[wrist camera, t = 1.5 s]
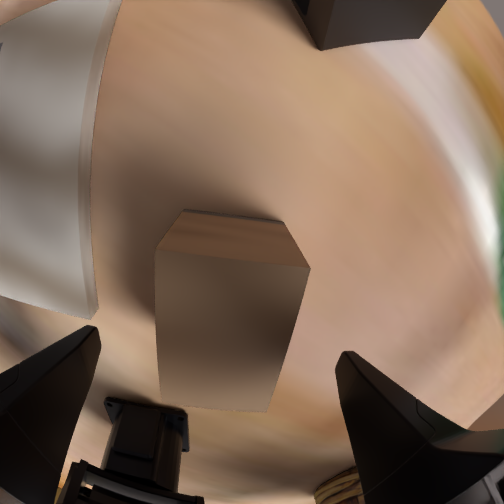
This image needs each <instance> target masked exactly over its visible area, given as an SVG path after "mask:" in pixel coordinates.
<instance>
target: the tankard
mask: <svg viewBox="0 0 504 504" xmlns="http://www.w3.org/2000/svg"><path fill="white" fill-rule="evenodd" d="M363 496H364V495H363V492H362V487H361V483H360V479H359V474H358V470H357V467H356V468H353V469H351V470H348V471H345V472H343V473H341V474H339V475H338V476H336V477H334V478H332V479H330V480H329V481H327V482H326V483H324V484H323V485H321V486H320V487H319V488H318V489H317V490H316V493H315V494H314V499H315V502H316V504H365V501H364V497H363Z"/></svg>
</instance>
